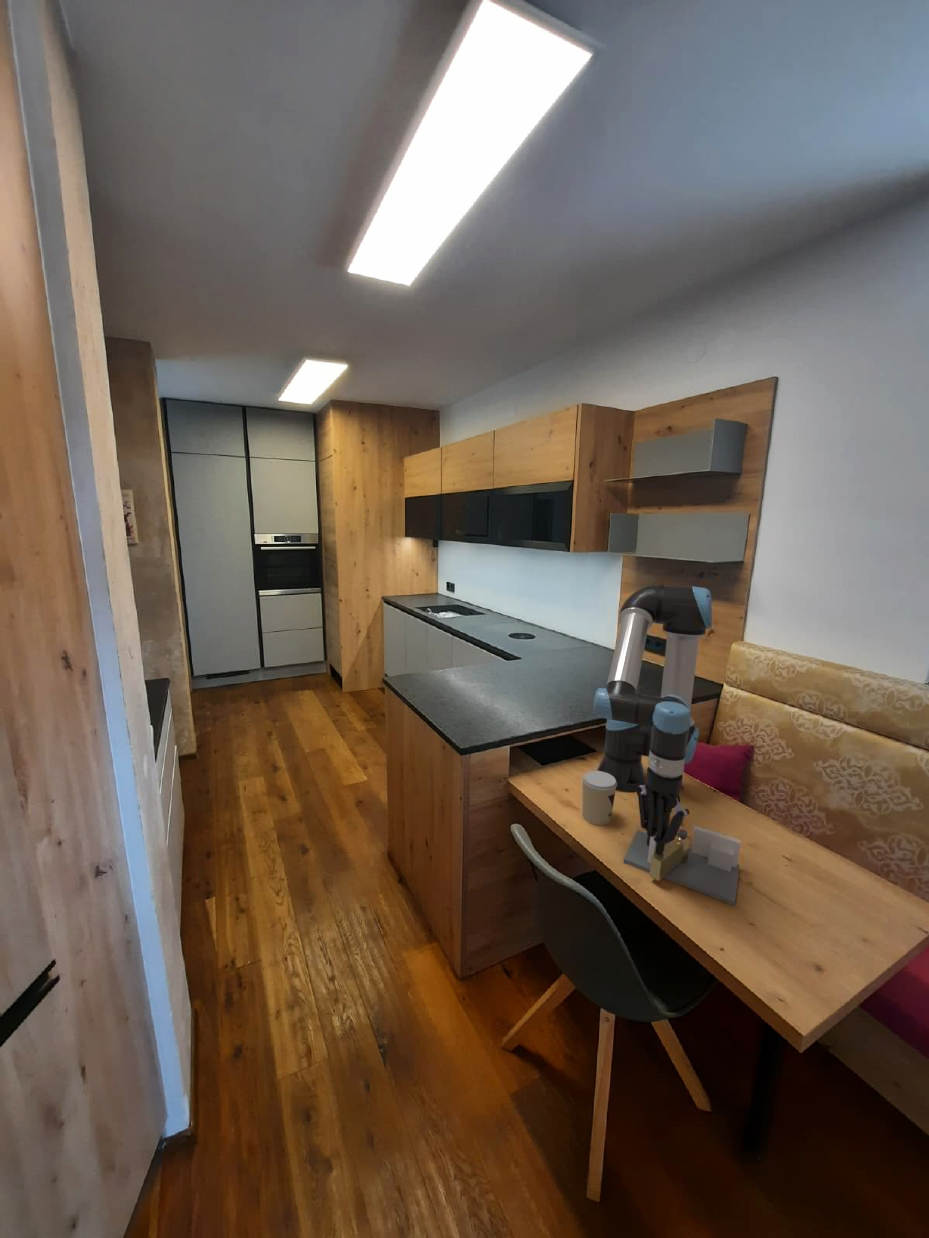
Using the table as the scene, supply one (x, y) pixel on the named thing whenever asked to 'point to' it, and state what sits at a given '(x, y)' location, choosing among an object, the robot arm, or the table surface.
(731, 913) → the table surface
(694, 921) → the table surface
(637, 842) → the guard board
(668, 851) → the swing bar
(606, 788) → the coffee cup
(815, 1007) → the table surface
